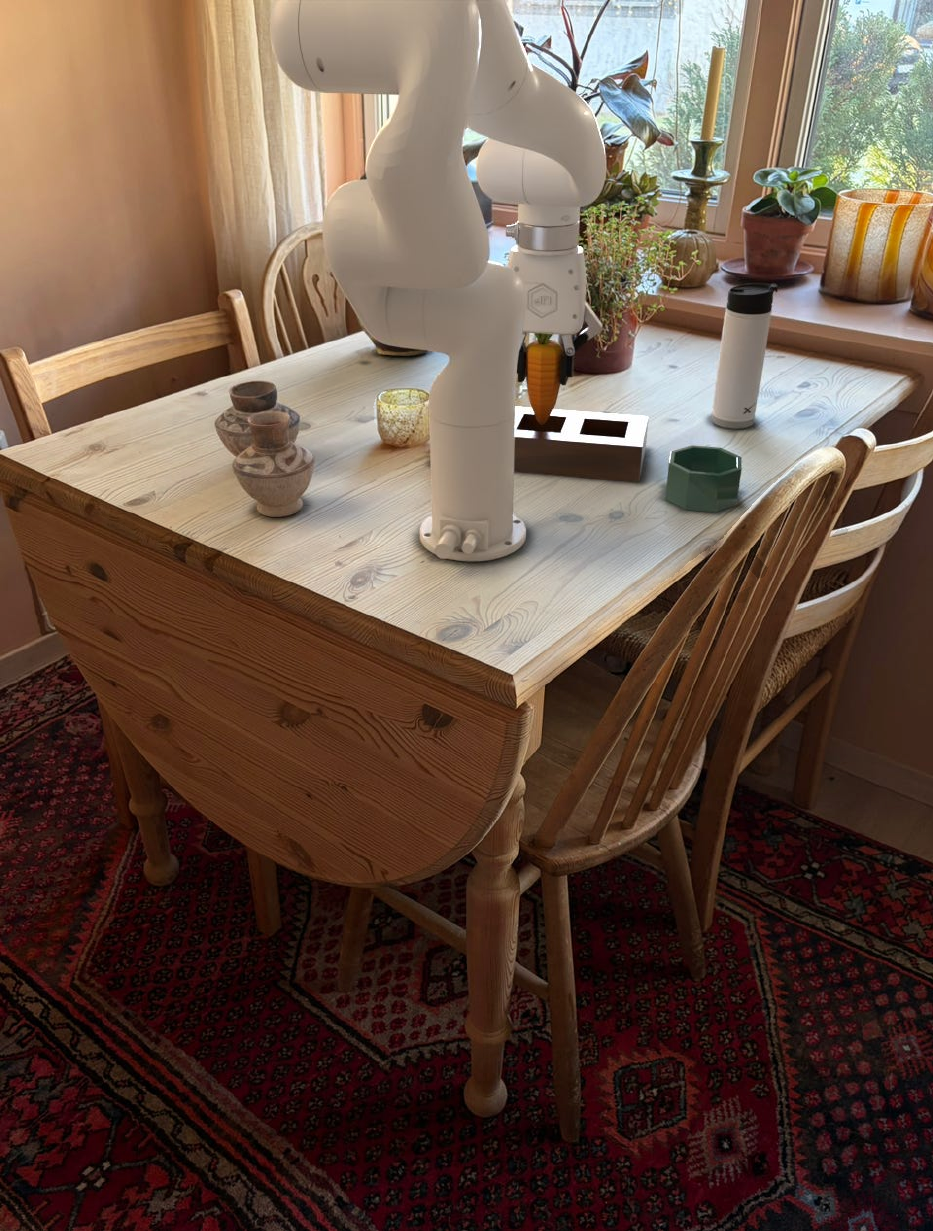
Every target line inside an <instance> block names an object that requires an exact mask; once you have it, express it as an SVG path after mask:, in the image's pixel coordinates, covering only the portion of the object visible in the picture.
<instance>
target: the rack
mask: <svg viewBox="0 0 933 1231" xmlns="http://www.w3.org/2000/svg"><path fill="white" fill-rule="evenodd" d="M649 418H650V417H649V416H648V415H647V416H646V415H637V414H621V413H607V412H595V411H581V410H567V409H556V408H553V411H552V413H551V415H550V416H549V418H548V420H547V421H546V422H545V423H544V424H543V425H541V424H540V423H539V422H538V421H537V419H536V417H535V414H534V412H533V410H532V407H526V406H515V449H514V473H515V472H516V473H525V474H539V475H547V476H549V475H550V476H561V477H572V478H583V479H593V480H594V479H595V480H608V481H617V482H618V481H620V482H628V483H629V482H631V483H640V481H641V475H642V469H643V466H644V460H645V456H646V449H647V438H648V427H649V420H650V419H649Z"/></svg>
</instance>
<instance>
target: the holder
mask: <svg viewBox="0 0 933 1231" xmlns="http://www.w3.org/2000/svg"><path fill="white" fill-rule="evenodd" d="M668 461H669V462H668V468H667V469H668V470H667V476H666V477H667V478H666V486H665V496H664V500H666V501H668V502H669V503H672V504H674V505H675V506H677V507H678V508H681V509H683V510H684V511H693V512H704V513H705V512H706V513H717V512H720V511H724V510H726V509H729V508H732V507H735V506H737V503H738V497H739V490H740V483H741V476H742V471H743V457H742V456H740V455H738V454H735V453H734V452H731V451H729V450H727V449H725V448H723V447H717V446H706V445H705V446H704V445H694V444H693V445H689V446H684V447H681V448H677V449H675V450H671V451H670V453H669V459H668Z"/></svg>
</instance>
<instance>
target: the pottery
mask: <svg viewBox="0 0 933 1231" xmlns="http://www.w3.org/2000/svg"><path fill="white" fill-rule="evenodd" d="M277 390H278V389H277V386H276V384H275V383H273V382H271V381H267V380H249V381H244V382H243V381H242V382H239V383H237V384H235V385H233V386H231V387H229V389H228V393H229V397H230V401H231V404H232V406H230V407H228V408H227V409H226V410H224V411H223V412H222V413H221V414H219V416H217V418H216V419H215V421H214V428H215V432H216V434H217V436H218V438H219V440H220V442H221V443H222V444H223V446H224V447H225V449H226V450H228V451H229V452H230V453H231V454H232V455H233V456H235V458H234V460H233V461H232V464H231V465H232V469H233V470H232V471H233V473H234V475H235V477H236V479H237V481H238V483H239V485H240V486H241V488H242V489H243V490H244V492H245V493H246V494H247V495H248V496H249V497H250V498H252V499H253V500H255V501H256V502H257V504H256V510H257V512H258V513H259V514H261V515H263V516H266V517H271V518H280V517H281V518H283V517H288V516H291V515H293V514H295V513H297V512H299V511H300V510H302V509H303V506H304V501H303V499H302V496H303V495H304V494H305V493H306V491H307V490H308V488H309V486H310V483H311V480H312V476H313V473H314V467H315V455H314V454H313V453H312V451H310V450H309V449H307V448H306V447H304V446H302V445H300V444H297V443H296V440H297V438H298V435H299V433H300V427H301V426H300V425H301V416H300V414H299V413H298V412H297V411H296V410H294V409H293V408H291V407H290V406H287V405H285V404H282V403H280V402H278V391H277Z"/></svg>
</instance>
